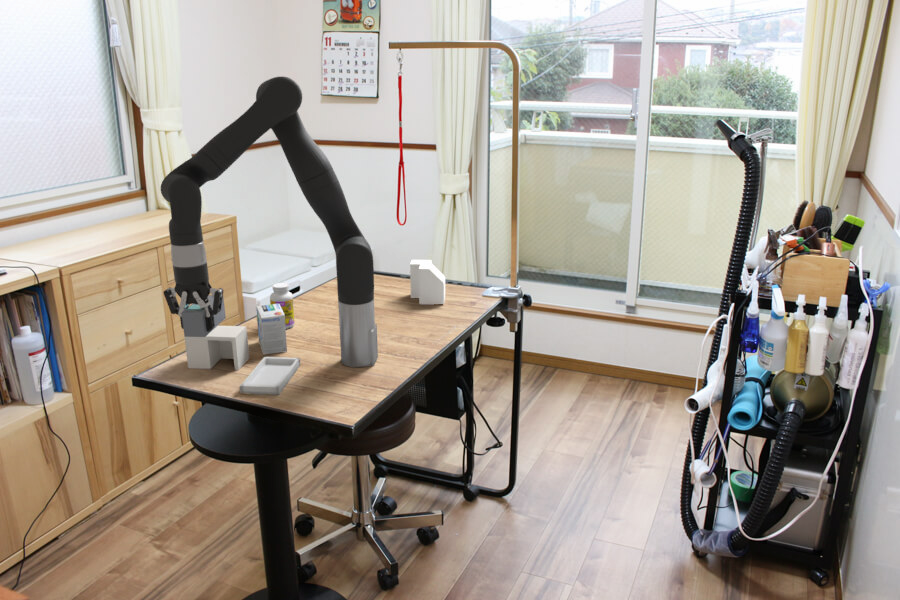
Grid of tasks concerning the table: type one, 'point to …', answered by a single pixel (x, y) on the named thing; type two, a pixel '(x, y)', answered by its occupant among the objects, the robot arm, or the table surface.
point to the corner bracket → (427, 282)
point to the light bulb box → (271, 328)
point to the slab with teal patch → (199, 319)
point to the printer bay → (218, 347)
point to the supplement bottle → (284, 302)
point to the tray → (270, 375)
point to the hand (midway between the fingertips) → (198, 330)
